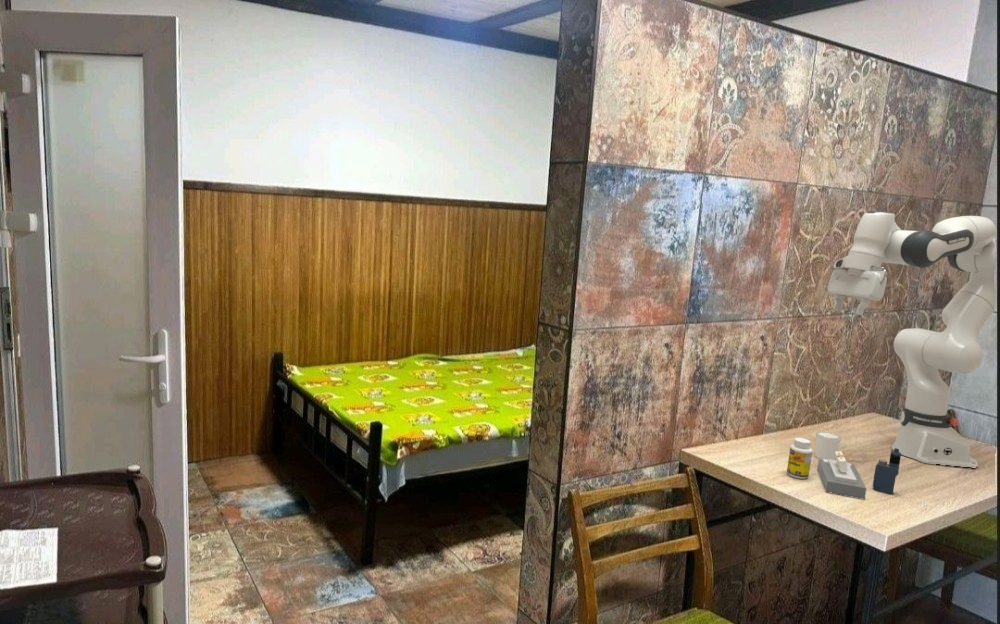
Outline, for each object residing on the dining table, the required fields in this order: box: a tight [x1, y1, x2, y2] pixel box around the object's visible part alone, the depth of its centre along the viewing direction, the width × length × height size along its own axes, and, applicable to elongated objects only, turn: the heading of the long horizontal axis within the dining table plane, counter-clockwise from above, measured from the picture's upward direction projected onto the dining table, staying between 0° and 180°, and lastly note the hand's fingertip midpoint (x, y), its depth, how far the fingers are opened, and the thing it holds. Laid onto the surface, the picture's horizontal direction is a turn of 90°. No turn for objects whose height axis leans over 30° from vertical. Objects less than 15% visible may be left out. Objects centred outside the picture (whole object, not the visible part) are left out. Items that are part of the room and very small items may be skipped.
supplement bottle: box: [786, 437, 813, 480], centre depth 180 cm, size 6×6×10 cm
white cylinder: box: [814, 431, 842, 460], centre depth 197 cm, size 7×7×7 cm
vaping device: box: [872, 448, 902, 495], centre depth 173 cm, size 3×5×12 cm, turn 58°
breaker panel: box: [816, 458, 867, 500], centre depth 177 cm, size 9×18×4 cm, turn 161°
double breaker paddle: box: [835, 450, 848, 472], centre depth 177 cm, size 2×8×3 cm, turn 161°
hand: (847, 312), depth 187 cm, fingers open, 8 cm apart
